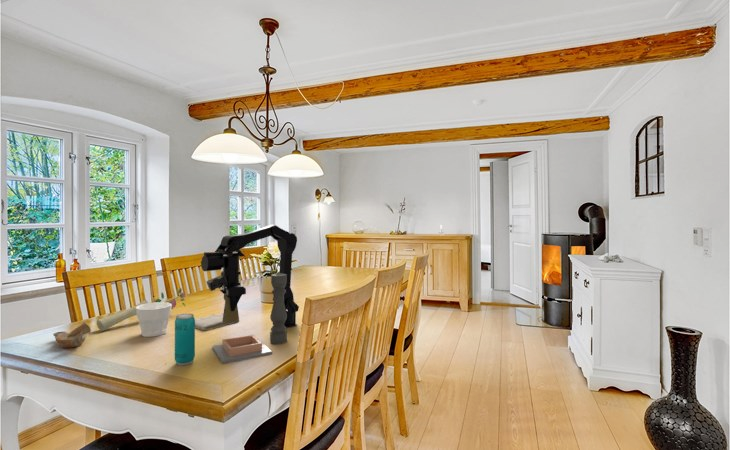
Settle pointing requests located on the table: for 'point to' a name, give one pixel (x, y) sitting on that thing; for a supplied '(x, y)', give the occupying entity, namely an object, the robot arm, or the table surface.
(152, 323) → the cup
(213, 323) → the washcloth
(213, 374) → the table surface
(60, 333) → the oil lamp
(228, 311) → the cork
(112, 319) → the flower vase
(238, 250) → the robot arm
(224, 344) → the shaker socket
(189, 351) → the beverage can
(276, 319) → the candle holder
